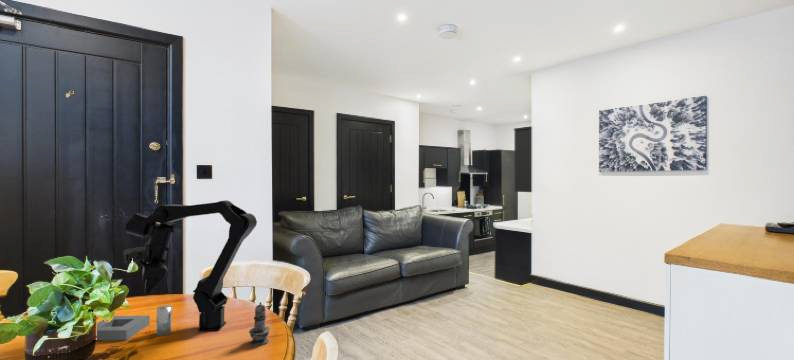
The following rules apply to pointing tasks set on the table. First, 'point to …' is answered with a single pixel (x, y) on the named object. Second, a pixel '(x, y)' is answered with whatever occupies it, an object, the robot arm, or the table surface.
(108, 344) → the table surface
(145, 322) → the socket block
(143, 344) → the table surface
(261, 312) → the grey tower figurine
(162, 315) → the grey metallic cylinder
